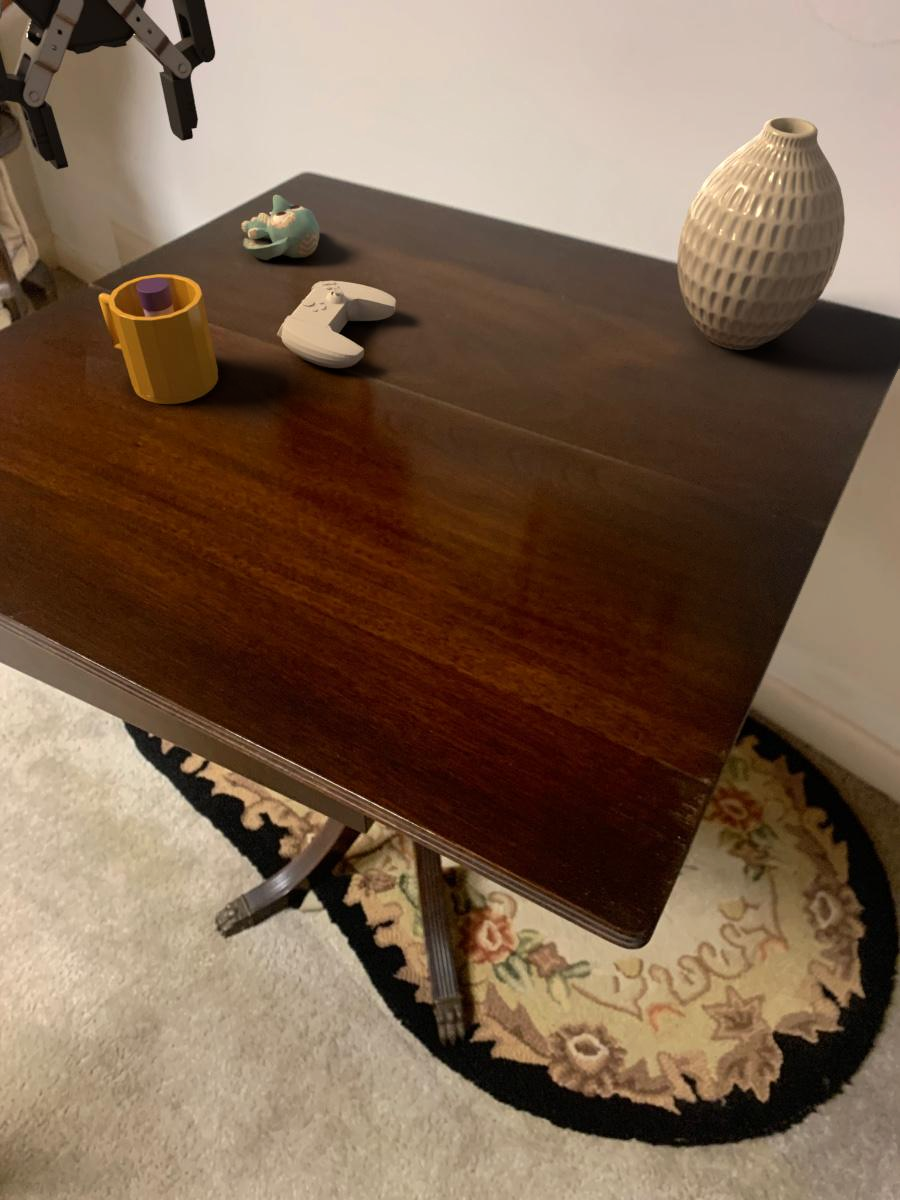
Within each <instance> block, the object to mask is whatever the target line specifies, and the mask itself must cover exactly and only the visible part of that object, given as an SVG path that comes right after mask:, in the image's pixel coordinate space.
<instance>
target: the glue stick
mask: <svg viewBox="0 0 900 1200" xmlns="http://www.w3.org/2000/svg"><path fill="white" fill-rule="evenodd" d="M137 291H138V295H139V298H140V302H141V306H142V308H143V309H144V313H145V317H156V316H163V315H169V314H171V313H174V309H173V305H172V303H173V300H172V296H171V292H170V287H169V283H168V281H167V280H165V279H163V278H148V279H145V280H142V281H141V282H139V283H138V284H137Z"/></svg>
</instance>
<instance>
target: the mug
mask: <svg viewBox="0 0 900 1200" xmlns="http://www.w3.org/2000/svg"><path fill="white" fill-rule="evenodd" d="M148 278H163V279H165V280H167V281H168V283H169V287H170V292H171V296H172V300H173V303H172V305H173V309H174V313H171V314H169V315H163V316H156V317H145V313H144V309H143V308H142V306H141V302H140V298H139V295H138V291H137V284H138V283H139V282H141V281H142V280H145V279H148ZM98 302H99V305H100V307H101V311H102V315H103V318H104V321H105V324H106V328H107V332H108V334H109V339H110V342H111V344H112V347H113V348H114V349H116V350H119V351H121V352H122V355H123V358H124V362H125V366H126V369H127V373H128V375H129V380H130V383H131V386H132V388H133V391H134V392H135V394H136V395H137V396H138V397H140V398H141V399H143V400H145V401H147V402H150V403H154V404H160V405H177V404H184V403H187V402H191V401H194V400H196V399H199V398H202V397H204V396H205V395H207V394H208V393H209V392H211V391H212V390H213V389H214V388H215V386H216V385H217V383H218V380H219V368H218V364H217V359H216V355H215V349H214V344H213V340H212V333H211V329H210V324H209V320H208V315H207V310H206V306H205V301H204V295H203V292H202V289H201V286H200V284H198V283H197V282H196V281H194V280H193V279H191V278H190V277H185V276H181V275H179V274H165V273H163V274H161V273H158V274H157V273H156V274H151V275H143V276H139V277H136V278H133V279H130V280H128V281H125V282H123V283H122V284H120V285H119V286H118V287H116V288H115V289H113V290H112V292H111V294H108V293H106V292H102V293H100V294H99V295H98Z"/></svg>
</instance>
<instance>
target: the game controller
mask: <svg viewBox="0 0 900 1200" xmlns="http://www.w3.org/2000/svg"><path fill="white" fill-rule="evenodd" d="M396 306H397V300H396V298H395V297H394V296H393V295H391V294H389V293H387V292H386V291H383V290H381V289H379V288H376V287H372V286H368V285H364V284H360V283H355V282H350V281H349V282H348V281H340V280H339V281H338V280H323V281H321V280H320V281H318V282H316V283H313V285H312V287H311V290H310V292H309V293H308V294H307V296H305V298H304V299H302V300H301V303H300V304H298V306H297V307H296V308H295V309H294V311H293V312H292V314H290V315H287V316H286V318H285V319H284V322H282V324H281V326H280V327H279V330H278V332H277V334H276V335H277V337H279V338H281V342H282V344H283V345H284V346H285V347H286V348H287V349H288V350H289V351H290V352H291V353H293V354H295V355H296V356H297V357H299V358H301V359H303V360H305V361H307V362H309V363H312V364H314V365H317V366H320V367H324V368H329V369H330V368H331V369H345V368H350V367H352V366H355V365H357V363H358V362H359V361H360V360H361V359H362V358H363V357H364V356H365V349H364V348H363V347H362V346H360V345H359V344H357V343H356V342H354V341H352V340H351V339H349V338H347V337H346V336H344V335H342V334H340V332H341V331H342V330H343V328H344V327H345V326H346V325H347V323H348V322H373V321H380V320H385V319H387V318H390V317H392V316H393V315H394V314H395V311H396Z"/></svg>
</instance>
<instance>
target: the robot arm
mask: <svg viewBox="0 0 900 1200" xmlns="http://www.w3.org/2000/svg"><path fill="white" fill-rule="evenodd" d="M4 1H5V0H0V20H1V19H2V16H3V9H2V6H3V2H4ZM11 1H12V3H14V4H15V5H16V6H17V7H18V8H19V9H20V10H21V11H22V12H23V13H24V14H25V15H26V16H27V17H28V19H27V21H26V25H25V28H24V30H23V31H24V32H23V35H22V37H21V40H20V45H19V47H20V49H19V50H20V53H19V56H18V58H17V62H16V64H15V69H14V71H13V73H9V72H7V71H6V68H5V63H4V60H3V55H2V52H1V50H0V103H3V102H7V101H8V102H12V103H17V104H18V105H19V106H20V110H21V113H22V116H23V118H24V121H25V125H26V128H27V130H28V131H27V132H28V134H29V137H30V141H31V144H32V147H33V148H34V150H35V151H36V152H37V153H38V155H39V156H40V157H41V158H42V159H43V160H44V161H45V162H49V163H50V164H51V165H52V166H53V167H54V168H55V169H56V170H61V169H66V168H69V162H68V159H67V156H66V152H65V148H64V145H63V141H62V138H61V135H60V131H59V128H58V125H57V121H56V118H55V113H54V111H53V107H52V106H51V105H50V104H49V103H48V102H47V101H46V97H47V95H48V91H49V89H50V86H51V83H52V80H53V77H54V75H55V74H56V73H57V72H59V70H60V68H61V65H62V62H63V59H64V56H65V53H66V51H69V52H73V53H75V54H76V55H81V54H88V53H91V52H92V51H94V50H96V49H98V48H100V47H106V48H113V49H114V48H121V47H127V42H129V41H130V40H131V39H132V37H133V38H134V39H135V40H136V41H137V42H138V43H139V44H141V46H142V47H144V49H145V50H147V52H148V53H149V54H150V55H151V56H152V57H153V58H154V59H155V60H156V61H157V62H158V63H159V64H160V65H161V66H162V70H163V71H159V78H160V84H161V88H162V94H163V98H164V102H165V107H166V112H167V113H166V114H167V117H168V122H169V126H170V127H169V128H170V130H171V132H172V134H173V135H174V136H175V137H176V138H178V139H179V140H180V141H182V142H185V141H188V140H192V139H194V134H193V133H194V132H193V129H197V128H198V121H199V118H198V117H199V116H198V112H197V111H198V110H197V106H196V100H195V96H194V91H193V90H194V89H193V84H192V74H193V71H194V70H195V69H196V68H197V67H199V66H200V65H201V64H203V63H211V62H212V61H213V60H214V59H215V57H216V49H215V42H214V38H213V33H212V28H211V24H210V23H211V22H210V19H209V15H208V10H207V6H206V0H171V1H172V6H173V10H174V13H175V14H174V15H175V18H176V22H177V27H178V31H179V35H180V39H181V40H180V41H178V42H176V43H175V44H174V43H173V42H172V41H171V40H170V39H169V36H168V35H167V34H166V33H165V32H164V31H163V30H162V28H161V27H159V25H158V24H157V23H156V22H155V20H154V19H152V18H151V17H150V16H149V15H148V14H147V12H146V11H145V10H144V8H145V5H146V2H147V0H11Z"/></svg>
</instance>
